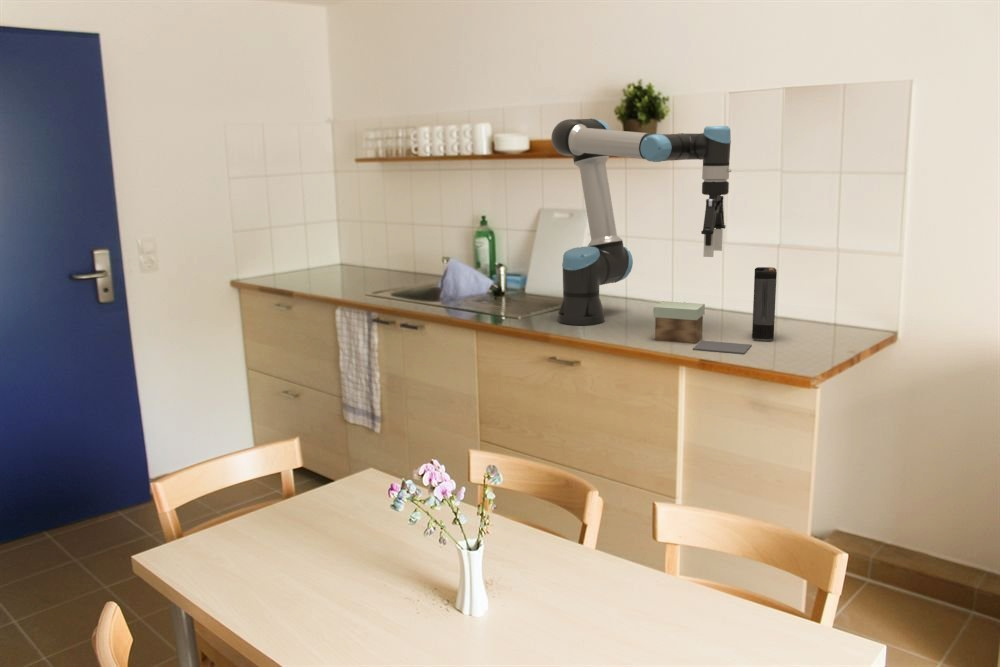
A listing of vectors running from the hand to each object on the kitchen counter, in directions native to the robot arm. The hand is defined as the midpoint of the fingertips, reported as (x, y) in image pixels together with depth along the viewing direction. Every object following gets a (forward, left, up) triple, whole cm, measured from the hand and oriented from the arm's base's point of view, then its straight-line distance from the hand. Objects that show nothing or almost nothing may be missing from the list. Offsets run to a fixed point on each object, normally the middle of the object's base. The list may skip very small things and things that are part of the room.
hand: (712, 253), depth 250 cm
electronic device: (+16, -3, -24) cm, 29 cm away
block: (-6, -13, -17) cm, 22 cm away
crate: (-6, -13, -24) cm, 28 cm away
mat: (+8, -19, -24) cm, 31 cm away
